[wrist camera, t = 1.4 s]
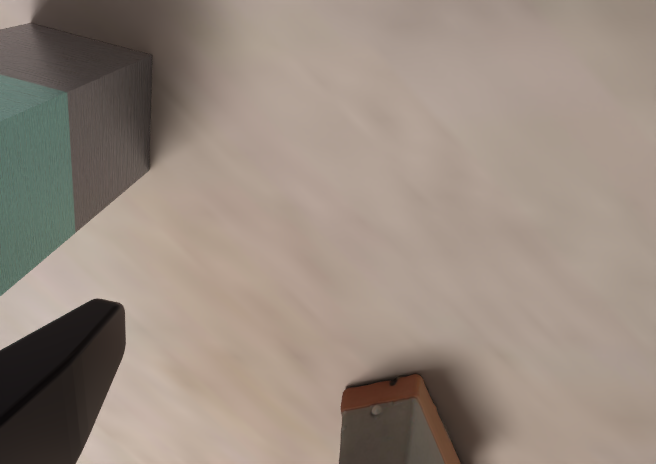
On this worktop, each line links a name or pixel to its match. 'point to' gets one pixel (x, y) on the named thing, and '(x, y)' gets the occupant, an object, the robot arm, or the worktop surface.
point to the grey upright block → (393, 425)
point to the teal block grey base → (65, 137)
